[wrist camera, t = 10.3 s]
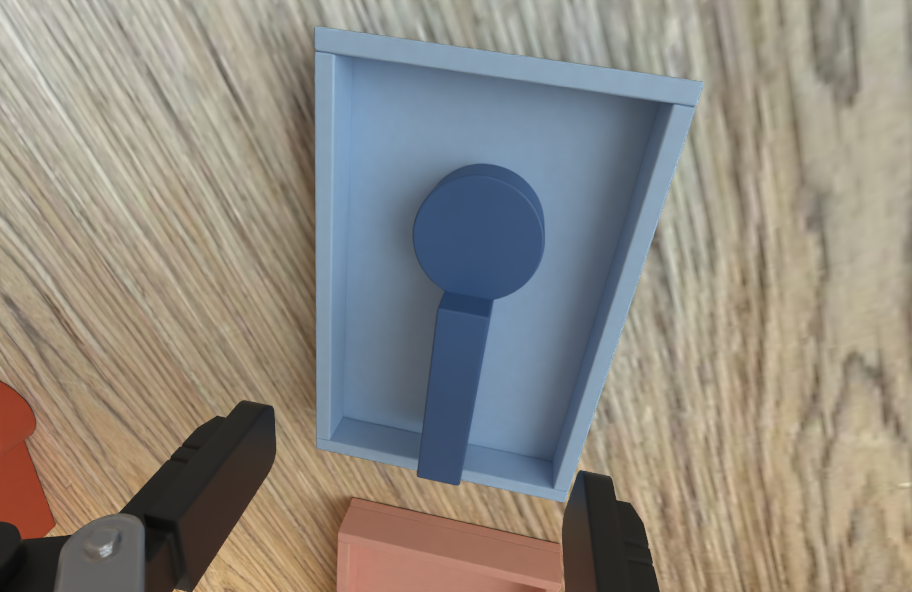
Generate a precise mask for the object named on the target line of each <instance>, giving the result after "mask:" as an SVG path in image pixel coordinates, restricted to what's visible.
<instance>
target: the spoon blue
mask: <svg viewBox="0 0 912 592" xmlns="http://www.w3.org/2000/svg"><path fill="white" fill-rule="evenodd" d="M413 247H414V251H415V255H416V257H417V260H418V262H419V264H420V266H421V268H422V269H423V271H424V272H425V274H426V275H427V276H428V277H429V278H430V280H431V281H432V282H433V283H434V284H436V285H437V286H438V287H439V288H441V289H442V290H444V291H445V292H444V294H443V296H442V299H441V301H440V304H439V306H438V308H437V314H436V322H435V330H434V338H433V346H432V354H431V362H430V370H429V378H428V386H427V395H426V403H425V411H424V419H423V427H422V435H421V443H420V451H419V459H418V467H417V477H420V478H425V479H429V480H434V481H438V482H443V483H448V484H452V485H457V486H458V485H459V484H460V481H461V476H462V471H463V465H464V460H465V455H466V450H467V444H468V439H469V434H470V428H471V423H472V418H473V412H474V407H475V401H476V396H477V390H478V385H479V379H480V374H481V368H482V363H483V357H484V352H485V346H486V341H487V336H488V330H489V325H490V319H491V314H492V308H493V303H494V300H496V299H500V298H503V297H505V296H508V295H510V294H512V293H514V292H516V291H517V290H519V289H520V288H521V287H523V286H524V285H525V284H526V283H527V282H528V281H529V280H530V279H531V278H532V276H533V275H534V274H535V272H536V270H537V269H538V267H539V265H540V262H541V260H542V256H543V253H544V247H545V224H544V213H543V209H542V205H541V203H540V201H539V198H538V196H537V195H536V193H535V191H534V190H533V188H532V187H531V186H530V185H529V184H528V183H527V182H526V181H525V180H524V179H523V178H522V177H521V176H519V175H518V174H516V173H515V172H513V171H511V170H509V169H507V168H504V167H501V166H497V165H493V164H473V165H468V166H465V167H462V168H459V169H457V170H455V171H453V172H451V173H450V174H448V175H447V176H445V177H444V178H443V179H442V180H441V181H440V182H439V183H438V184H437V185H436V187H435V188H434V189H433V190H432V191H431V192H430V194H429V195H428V196H427V197H426V198H425V199H424V201H423V203H422V204H421V206H420V207H419V210H418V212H417V214H416V217H415V220H414V225H413Z"/></svg>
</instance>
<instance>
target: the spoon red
mask: <svg viewBox="0 0 912 592" xmlns="http://www.w3.org/2000/svg"><path fill="white" fill-rule="evenodd" d="M35 425H36V422H35V417H34V414H33V412H32V410H31V408H30V407H29V405H28V404H27V402H26V401H25V400H24V399H23V398H22V397H21V396H20V395H19V394H18V393H17V392H16V391H14V390H13V389H12V388H10V387H9V386H7V385H6V384H4V383H2V382H0V522H8V523H11V524H13V525H15V526H16V527H17V528H18V530H19V532H20V535H21V537H22V539H32V538H43V537H44V536H45V535H46V534H47V533H48V532H49V531H50V530H51V529H52V528H53V527H55V522H54V519H53V517H52V514H51V511H50V509H49V506H48V503H47V501H46V498H45V495H44V492H43V490H42V487H41V484H40V482H39V479H38V476H37V474H36V471H35V468H34V466H33V463H32V460H31V457H30V455H29V452H28V449H27V447H26V444H25V441H24V440H25V439H26V438H27V437H29V436H30V435H31V434H32V433H33V431H34V429H35Z"/></svg>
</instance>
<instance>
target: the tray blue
mask: <svg viewBox="0 0 912 592" xmlns="http://www.w3.org/2000/svg"><path fill="white" fill-rule="evenodd" d="M314 48H315V50H316V52H315V54H314V73H315V274H316V437H317V438H316V448H317V449H321V450H326V451H330V452H335V453H339V454H344V455H349V456H353V457H358V458H362V459H367V460H371V461H376V462H381V463H385V464H390V465H394V466H399V467H403V468H408V469H413V470H417V467H418V459H419V451H420V443H421V435H422V427H423V419H424V411H425V403H426V395H427V386H428V378H429V370H430V362H431V354H432V346H433V338H434V330H435V322H436V314H437V308H438V306H439V304H440V301H441V299H442V296H443V294H444V292H445V291H444V290H442V289H441V288H439V287H438V286H437V285H436V284H434V283H433V282H432V281H431V280H430V278H429V277H428V276H427V275H426V274H425V272H424V271H423V269H422V268H421V266H420V264H419V262H418V260H417V257H416V255H415V251H414V247H413V225H414V220H415V217H416V214H417V212H418V210H419V207H420V206H421V204H422V203H423V201H424V199H425V198H426V197H427V196H428V195H429V194H430V192H431V191H432V190H433V189H434V188H435V187H436V185H437V184H438V183H439V182H440V181H441V180H442V179H443V178H444V177H445V176H447V175H448V174H450V173H451V172H453V171H455V170H457V169H459V168H462V167H465V166H468V165H473V164H493V165H497V166H501V167H504V168H507V169H509V170H511V171H513V172H515V173H516V174H518V175H519V176H521V177H522V178H523V179H524V180H525V181H526V182H527V183H528V184H529V185H530V186H531V187H532V188H533V190H534V191H535V193H536V195H537V196H538V198H539V201H540V203H541V205H542V209H543V213H544V224H545V247H544V253H543V256H542V260H541V262H540V265H539V267H538V269H537V270H536V272H535V274H534V275H533V276H532V278H531V279H530V280H529V281H528V282H527V283H526V284H525V285H524V286H523V287H521V288H520V289H519V290H517V291H516V292H514V293H512V294H510V295H508V296H505V297H503V298H500V299H496V300H494V303H493V308H492V314H491V319H490V325H489V330H488V336H487V341H486V346H485V352H484V357H483V363H482V368H481V374H480V379H479V385H478V390H477V396H476V401H475V407H474V412H473V418H472V423H471V428H470V434H469V439H468V444H467V450H466V455H465V460H464V465H463V471H462V476H461V480H463V481H467V482H472V483H476V484H481V485H486V486H490V487H495V488H499V489H504V490H508V491H513V492H518V493H522V494H527V495H531V496H536V497H540V498H545V499H550V500H554V501H559V502H565V500H566V497H567V494H568V491H569V488H570V485H571V482H572V479H573V476H574V473H575V470H576V467H577V464H578V461H579V458H580V455H581V452H582V449H583V446H584V443H585V440H586V437H587V434H588V431H589V428H590V425H591V422H592V419H593V416H594V413H595V410H596V407H597V404H598V401H599V398H600V395H601V392H602V389H603V386H604V383H605V380H606V377H607V374H608V371H609V368H610V365H611V362H612V359H613V356H614V353H615V350H616V347H617V344H618V341H619V338H620V335H621V332H622V329H623V326H624V323H625V320H626V317H627V314H628V311H629V308H630V305H631V302H632V299H633V296H634V293H635V290H636V287H637V284H638V281H639V278H640V275H641V272H642V269H643V266H644V263H645V260H646V257H647V254H648V251H649V248H650V245H651V242H652V239H653V236H654V233H655V230H656V227H657V224H658V221H659V218H660V215H661V212H662V209H663V206H664V203H665V200H666V196H667V193H668V190H669V187H670V184H671V181H672V178H673V175H674V172H675V169H676V166H677V163H678V160H679V157H680V154H681V151H682V148H683V145H684V142H685V139H686V136H687V133H688V130H689V127H690V124H691V121H692V118H693V115H694V112H695V108H694V106H696V105H697V103H698V100H699V97H700V94H701V91H702V88H703V85H704V83H703V82H702V81H696V80H689V79H682V78H675V77H668V76H661V75H654V74H647V73H640V72H633V71H626V70H619V69H613V68H606V67H599V66H592V65H585V64H578V63H571V62H564V61H557V60H550V59H543V58H536V57H529V56H522V55H515V54H508V53H501V52H494V51H487V50H480V49H473V48H466V47H459V46H452V45H445V44H438V43H431V42H424V41H417V40H410V39H403V38H396V37H389V36H382V35H375V34H368V33H361V32H354V31H347V30H340V29H333V28H326V27H319V26H316V27H315V28H314Z"/></svg>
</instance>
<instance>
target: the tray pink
mask: <svg viewBox="0 0 912 592" xmlns="http://www.w3.org/2000/svg"><path fill="white" fill-rule="evenodd" d="M561 586H562V569H561V546H560V544H556V543H552V542H547V541H543V540H538V539H534V538H530V537H525V536H521V535H516V534H512V533H507V532H503V531H499V530H494V529H490V528H485V527H481V526H477V525H472V524H468V523H463V522H459V521H454V520H450V519H446V518H441V517H437V516H432V515H428V514H423V513H419V512H415V511H410V510H406V509H401V508H397V507H393V506H388V505H384V504H379V503H375V502H370V501H366V500H362V499H357V498H352V500H351V503H350V505H349V507H348V510H347V512H346V514H345V517H344V519H343V521H342V523H341V526H340V528H339V530H338V545H337V586H336V592H560V589H561Z"/></svg>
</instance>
